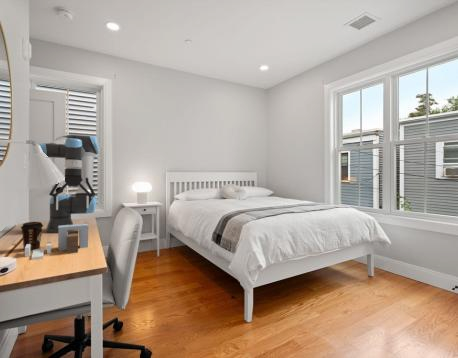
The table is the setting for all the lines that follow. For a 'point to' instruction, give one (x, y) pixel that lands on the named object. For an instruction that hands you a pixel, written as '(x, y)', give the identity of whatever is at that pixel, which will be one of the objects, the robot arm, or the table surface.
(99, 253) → the table surface
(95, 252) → the table surface
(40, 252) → the cradle
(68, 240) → the walnut bar
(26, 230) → the coffee cup
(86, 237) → the bore block
